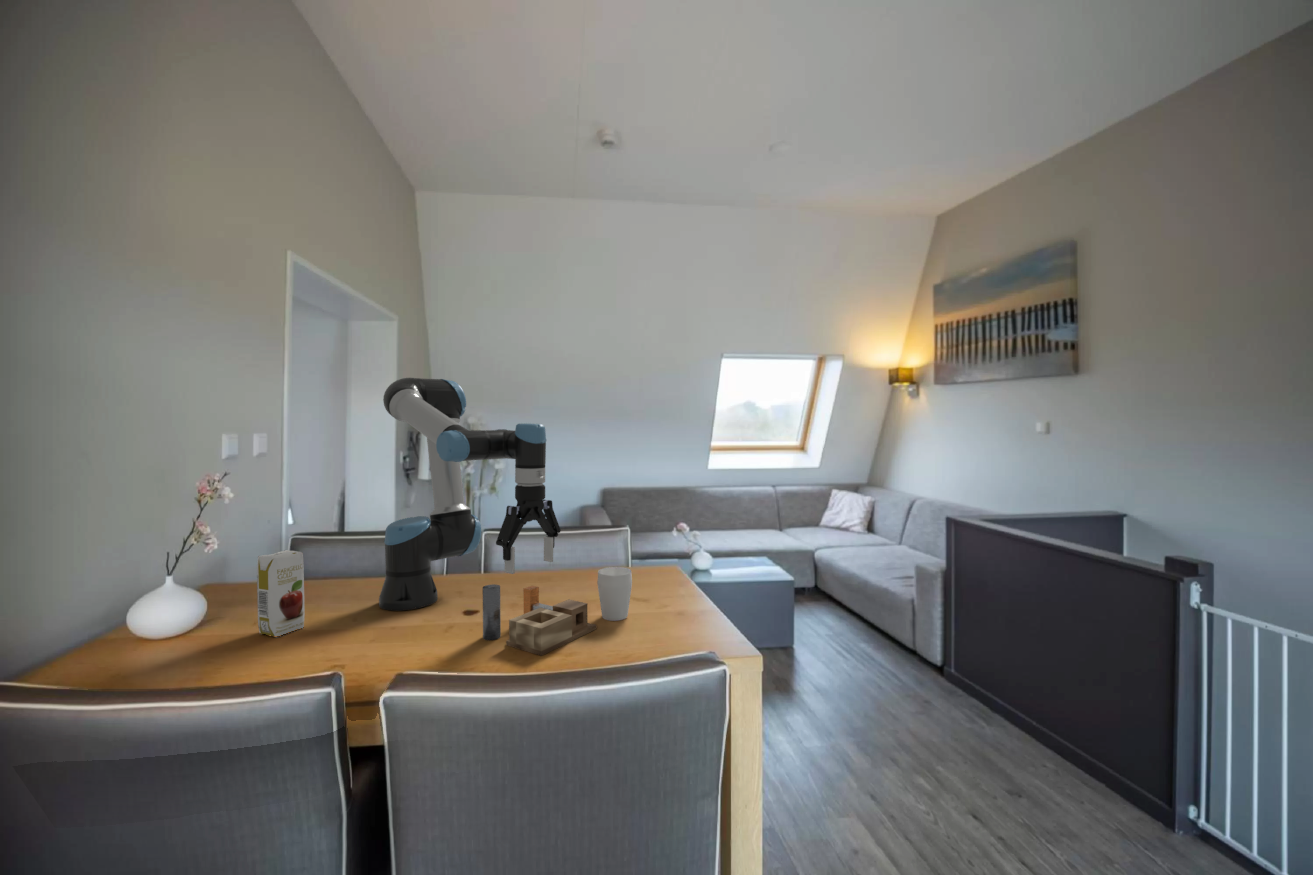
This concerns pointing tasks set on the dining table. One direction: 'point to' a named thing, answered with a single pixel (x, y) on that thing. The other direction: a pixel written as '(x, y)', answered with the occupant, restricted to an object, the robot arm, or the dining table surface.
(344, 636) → the dining table surface
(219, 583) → the dining table surface
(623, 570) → the cup
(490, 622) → the dark grey cylinder
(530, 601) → the pin
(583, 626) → the dock
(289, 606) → the juice carton
